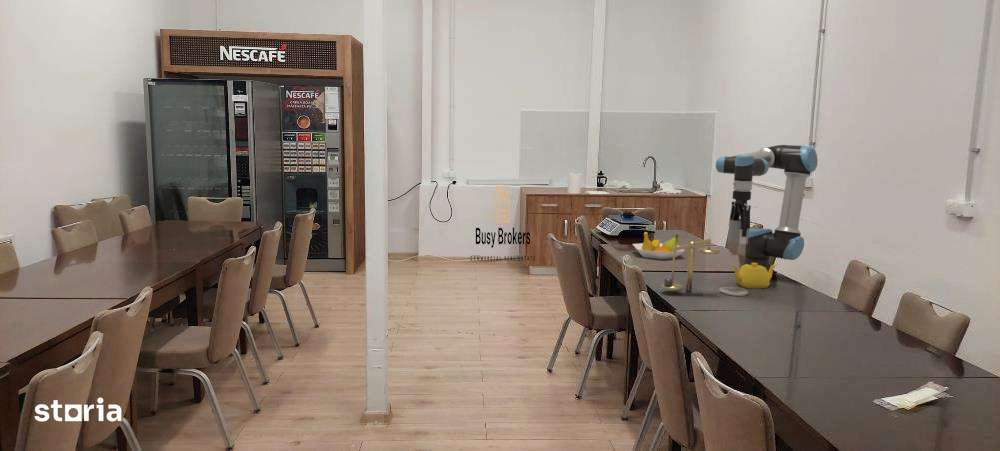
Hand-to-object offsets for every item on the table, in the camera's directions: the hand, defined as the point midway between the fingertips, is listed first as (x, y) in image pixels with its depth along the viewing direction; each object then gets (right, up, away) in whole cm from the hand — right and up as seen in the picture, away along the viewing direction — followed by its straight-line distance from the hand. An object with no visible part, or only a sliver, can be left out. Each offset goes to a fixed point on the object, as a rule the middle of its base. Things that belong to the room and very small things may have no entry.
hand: (737, 242), depth 309 cm
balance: (-21, -22, 0) cm, 31 cm away
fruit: (-17, -10, +83) cm, 86 cm away
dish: (-1, -23, +3) cm, 23 cm away
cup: (0, -1, 0) cm, 1 cm away
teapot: (+13, -21, +20) cm, 31 cm away
